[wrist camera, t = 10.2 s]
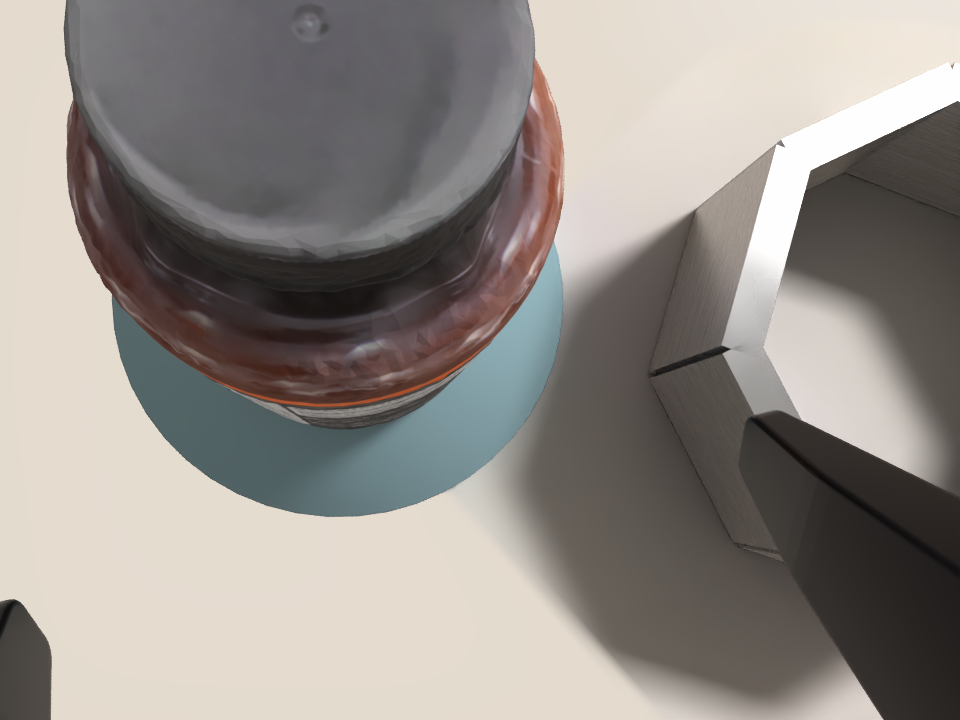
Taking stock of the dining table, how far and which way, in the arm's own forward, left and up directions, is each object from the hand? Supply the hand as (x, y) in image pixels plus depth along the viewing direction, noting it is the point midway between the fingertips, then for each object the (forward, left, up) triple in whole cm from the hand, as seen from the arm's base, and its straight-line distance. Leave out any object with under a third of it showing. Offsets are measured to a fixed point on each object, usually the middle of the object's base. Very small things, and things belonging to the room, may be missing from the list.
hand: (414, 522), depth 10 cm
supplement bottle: (+1, +4, -8) cm, 9 cm away
